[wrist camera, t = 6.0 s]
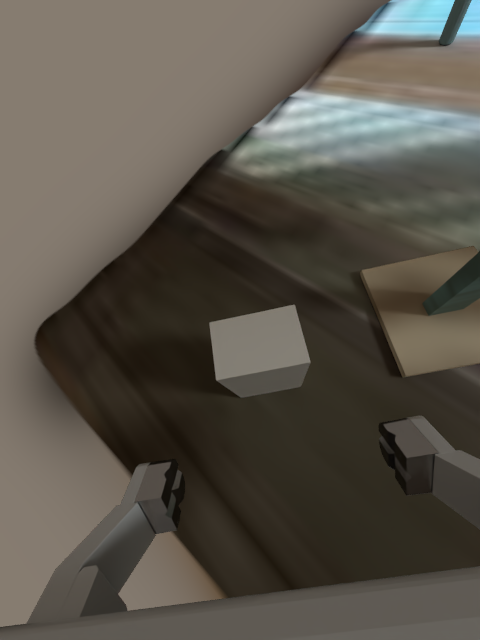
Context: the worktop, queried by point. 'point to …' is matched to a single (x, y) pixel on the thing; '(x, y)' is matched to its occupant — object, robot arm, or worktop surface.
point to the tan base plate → (429, 310)
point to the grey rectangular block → (260, 352)
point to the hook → (454, 21)
